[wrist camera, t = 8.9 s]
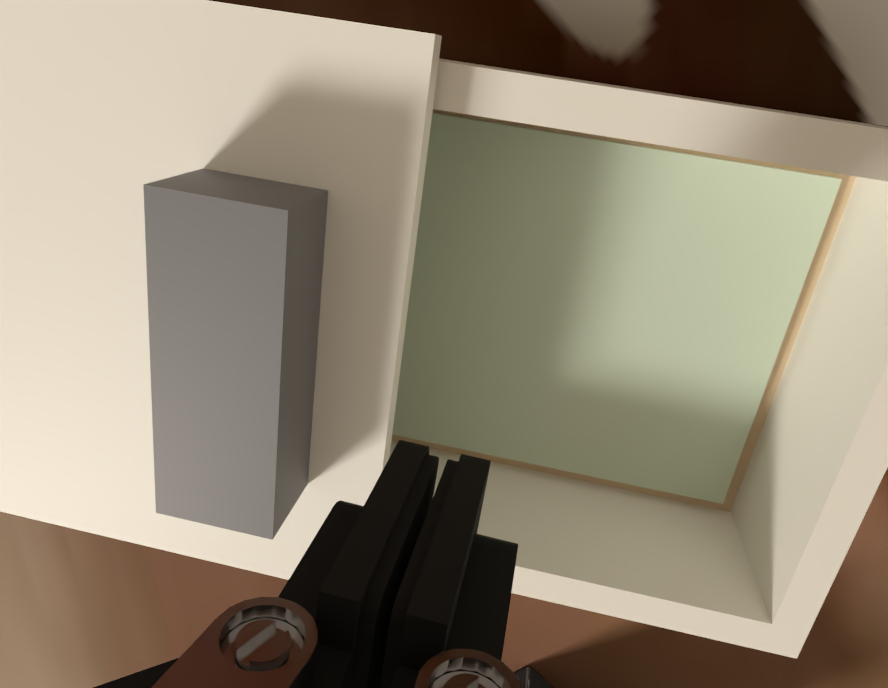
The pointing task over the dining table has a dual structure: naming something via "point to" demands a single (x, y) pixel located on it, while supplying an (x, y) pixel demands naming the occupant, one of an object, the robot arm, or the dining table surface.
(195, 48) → the lid
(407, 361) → the base
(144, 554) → the dining table surface
